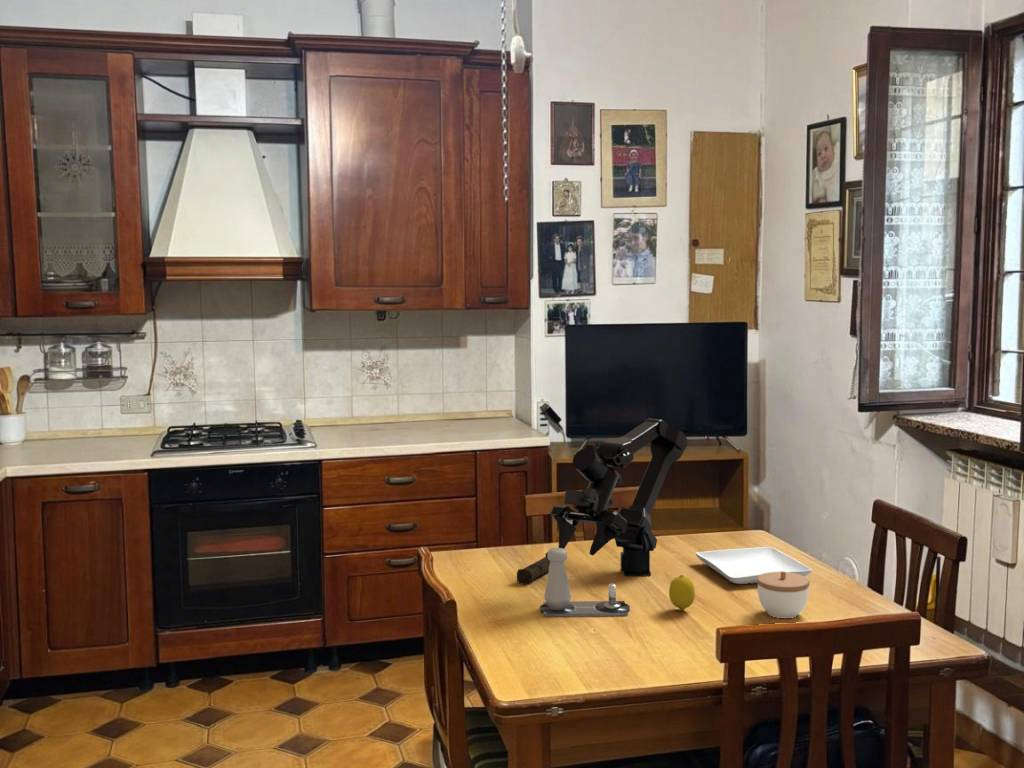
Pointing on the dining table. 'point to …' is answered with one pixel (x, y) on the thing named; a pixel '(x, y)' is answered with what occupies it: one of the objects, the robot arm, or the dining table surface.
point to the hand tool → (533, 571)
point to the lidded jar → (783, 593)
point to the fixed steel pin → (612, 598)
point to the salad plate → (751, 563)
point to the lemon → (682, 592)
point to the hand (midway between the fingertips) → (575, 552)
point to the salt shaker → (557, 580)
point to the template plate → (585, 609)
